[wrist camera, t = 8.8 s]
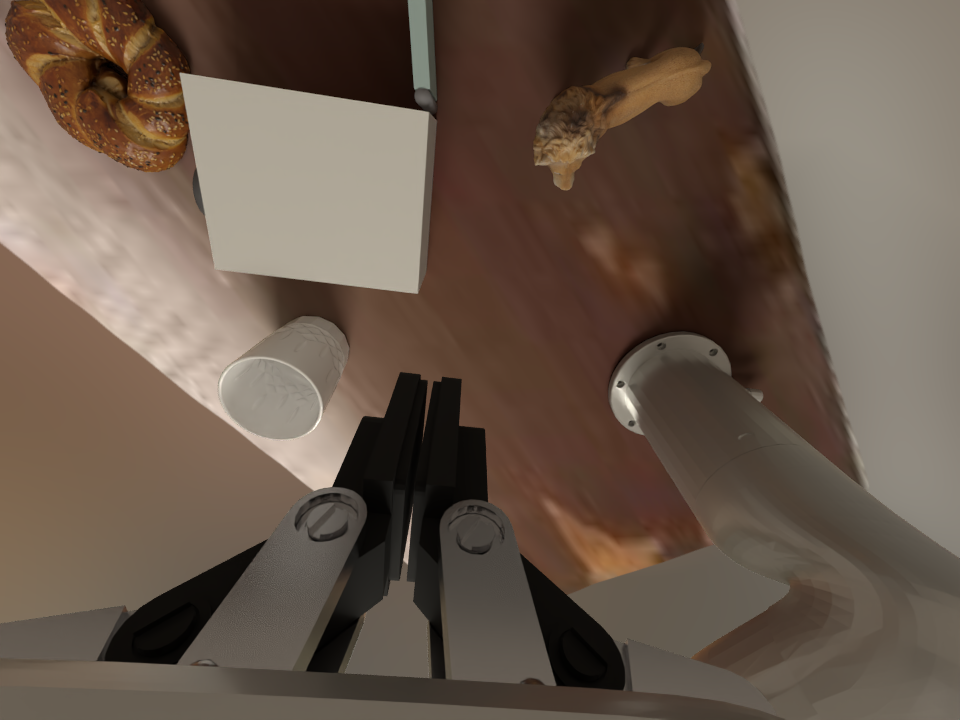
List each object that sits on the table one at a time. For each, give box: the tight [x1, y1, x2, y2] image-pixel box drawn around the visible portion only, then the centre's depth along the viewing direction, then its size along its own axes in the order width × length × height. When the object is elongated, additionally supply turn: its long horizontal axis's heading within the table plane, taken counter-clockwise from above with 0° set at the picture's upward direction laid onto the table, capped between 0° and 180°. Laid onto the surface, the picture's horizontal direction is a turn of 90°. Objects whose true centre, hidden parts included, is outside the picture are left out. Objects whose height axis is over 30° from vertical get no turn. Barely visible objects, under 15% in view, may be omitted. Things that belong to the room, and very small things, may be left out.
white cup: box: [218, 316, 349, 441], centre depth 35 cm, size 8×8×10 cm
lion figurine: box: [533, 43, 711, 190], centre depth 26 cm, size 15×5×9 cm, turn 122°
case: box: [180, 73, 437, 294], centre depth 30 cm, size 16×12×7 cm
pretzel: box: [5, 0, 190, 172], centre depth 28 cm, size 12×11×4 cm
